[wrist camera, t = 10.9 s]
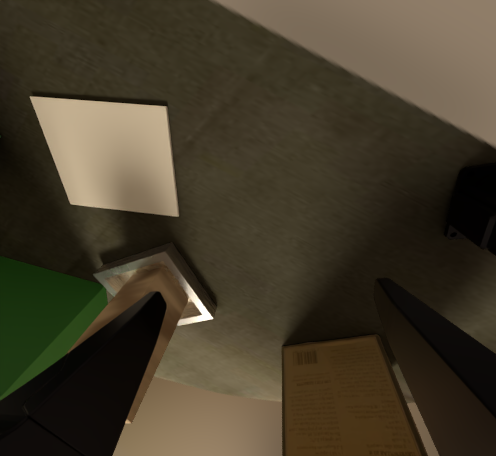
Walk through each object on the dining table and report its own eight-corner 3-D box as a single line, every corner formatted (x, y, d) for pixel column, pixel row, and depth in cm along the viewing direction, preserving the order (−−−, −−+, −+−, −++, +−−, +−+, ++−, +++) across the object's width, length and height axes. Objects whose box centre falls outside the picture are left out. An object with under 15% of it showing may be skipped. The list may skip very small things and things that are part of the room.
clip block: (163, 266, 27) (68, 401, 15) (188, 300, 30) (124, 439, 18) (132, 275, 29) (23, 404, 17) (158, 306, 31) (80, 438, 19)
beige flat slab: (167, 106, 18) (165, 106, 18) (179, 215, 23) (178, 216, 23) (33, 96, 19) (29, 96, 19) (72, 203, 24) (70, 204, 24)
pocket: (172, 242, 25) (165, 251, 24) (216, 307, 30) (213, 318, 28) (102, 264, 29) (92, 274, 27) (152, 320, 33) (146, 331, 32)
